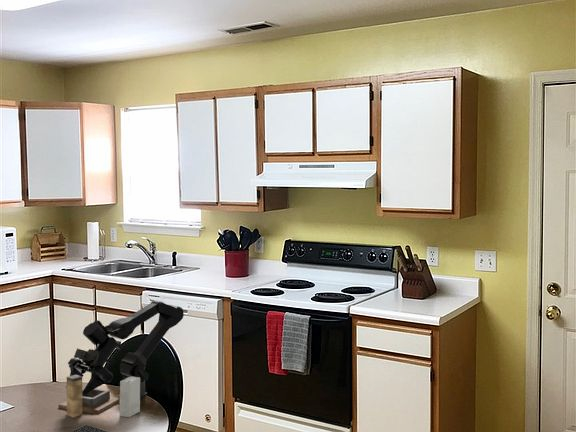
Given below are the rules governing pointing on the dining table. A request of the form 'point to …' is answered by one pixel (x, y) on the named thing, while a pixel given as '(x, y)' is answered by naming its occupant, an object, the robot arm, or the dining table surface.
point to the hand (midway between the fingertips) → (75, 391)
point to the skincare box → (129, 396)
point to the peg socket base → (95, 401)
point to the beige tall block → (74, 395)
